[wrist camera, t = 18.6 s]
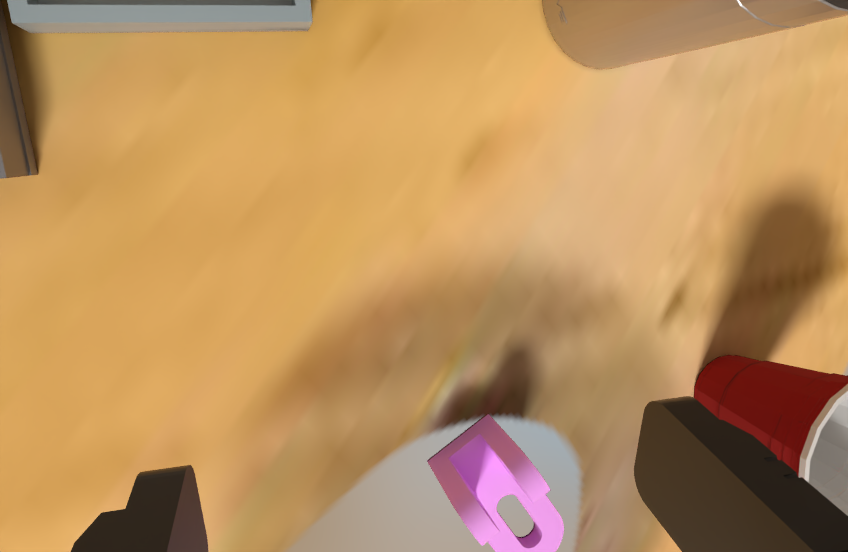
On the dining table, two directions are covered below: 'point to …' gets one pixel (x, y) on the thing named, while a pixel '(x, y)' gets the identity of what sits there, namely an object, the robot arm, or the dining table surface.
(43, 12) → the tray
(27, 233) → the dining table surface
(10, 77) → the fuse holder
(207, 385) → the dining table surface
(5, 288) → the dining table surface
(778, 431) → the plastic cup
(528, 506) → the bracket
